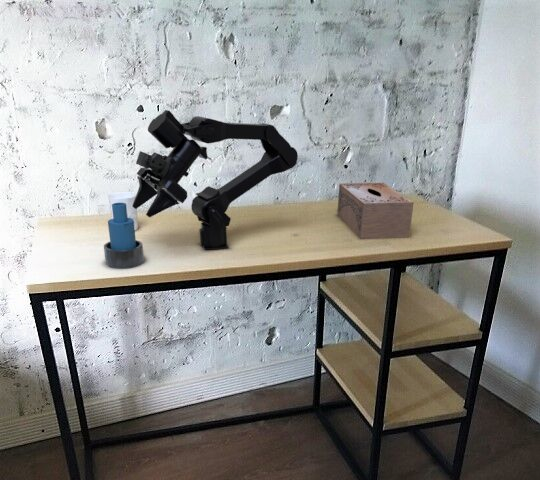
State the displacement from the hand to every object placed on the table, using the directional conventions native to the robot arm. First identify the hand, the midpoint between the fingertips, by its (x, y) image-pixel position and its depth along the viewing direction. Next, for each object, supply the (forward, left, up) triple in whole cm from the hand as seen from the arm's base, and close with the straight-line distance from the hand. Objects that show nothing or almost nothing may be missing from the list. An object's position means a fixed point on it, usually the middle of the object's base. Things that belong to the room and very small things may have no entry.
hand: (140, 211), depth 136 cm
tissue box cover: (-69, -13, -12) cm, 72 cm away
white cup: (+3, -28, -12) cm, 30 cm away
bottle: (+5, +2, -11) cm, 13 cm away
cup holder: (+5, +1, -12) cm, 13 cm away
